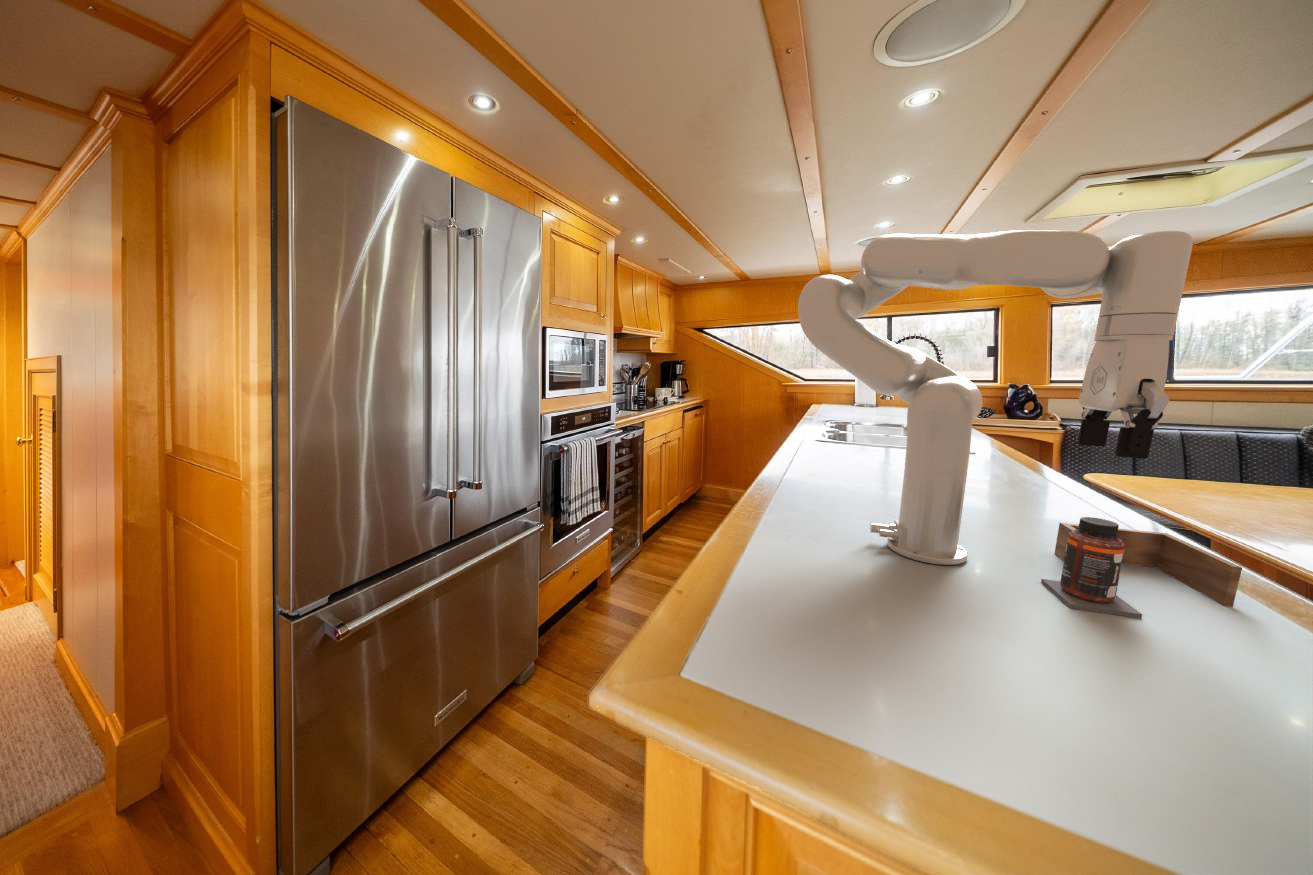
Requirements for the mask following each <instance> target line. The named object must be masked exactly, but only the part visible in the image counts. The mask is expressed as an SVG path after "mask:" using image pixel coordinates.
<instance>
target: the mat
mask: <svg viewBox="0 0 1313 875" xmlns="http://www.w3.org/2000/svg"><path fill="white" fill-rule="evenodd" d="M1040 582H1041V584H1042V585H1044V587H1045V588H1047V589H1048V590H1049V591H1050V592H1051V593H1052V594H1054V596H1056V597H1057V598H1058V599H1059V600H1060V601H1061V602H1062V603H1063V604H1064V605H1065V606H1067V607H1068V608H1069V609H1073V610H1074V609H1075V610H1083V611H1090V612H1095V613H1102V614H1103V613H1104V614H1107V615H1116V616H1124V617H1130V618H1137V619H1142V618H1143V614H1142V613H1141V611H1138V610H1137V609H1136V608H1135V607H1133V606H1131V605H1130V604H1129V603H1128V602H1126V601H1125V600H1123V599H1122V598H1121V597H1119V596H1118V595H1117V594H1116V596H1115V600H1114V601H1112V602H1109V603H1100V602H1093V601H1089V600H1084V599H1081V598H1078V597H1076V596H1073V595H1071V594H1069V593H1067V592H1066V591H1065V590H1063V589H1062V588H1061V585H1060V583H1061V580H1054V579H1045V578H1041V580H1040Z"/></svg>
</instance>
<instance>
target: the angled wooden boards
mask: <svg viewBox="0 0 1313 875" xmlns="http://www.w3.org/2000/svg"><path fill="white" fill-rule="evenodd" d="M1078 528H1079V524H1077V523H1067V522H1059V524H1058V531H1057V536H1056V542H1055V547H1054V555H1055V556H1056V557H1058V558H1059V559H1060V560H1062V561H1063V562H1064V557H1065V551H1066V545H1067V540H1068V535H1069V533H1070V532H1071V531H1073V530H1076V529H1078ZM1117 537H1118V538H1119V539H1121V540H1122V541H1123V542H1124V544H1125V549H1124V555H1123V561H1122V564H1124V565H1129V566H1130V565H1131V566H1139V567H1146V566H1147V567H1148V568H1156V569H1158V570H1160V571H1162V572H1164V573H1165V574H1167V575H1168V576H1170V577H1172V576H1173V577H1172V578H1173V579H1176V580H1178V581H1180V582H1181V583H1183V584H1185V585H1186V586H1188V587H1190V588H1192V589H1193V590H1195V591H1197V592H1199V593H1200V594H1202V595H1204V596H1206V597H1208V598H1210V599H1211V600H1213V601H1215V602H1216V603H1218V604H1220V605H1222V606H1224V607H1231V608H1233V607H1234V603H1235V599H1236V595H1237V591H1238V588H1239V587H1238V586H1239V584H1240V578H1241V575H1242V570H1243V567H1242V566H1239V565H1238V564H1235V563H1233V562H1231V561H1228V560H1226V559H1224V558H1223V557H1221V556H1218V555H1215V554H1213V553H1211V552H1209V551H1206V550H1205V549H1202V548H1200V547H1197V546H1196V545H1193V544H1192V543H1189V542H1186V541H1184V540H1182V539H1180V538H1178V537H1176V536H1173V535H1171V534H1170V533H1167V532H1156V531H1149V530H1148V531H1145V530H1138V529H1137V530H1136V529H1128V528H1127V529H1126V528H1120V527H1118V533H1117Z"/></svg>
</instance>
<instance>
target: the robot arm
mask: <svg viewBox="0 0 1313 875" xmlns="http://www.w3.org/2000/svg"><path fill="white" fill-rule="evenodd" d="M1193 244H1194V241H1193V237H1192V235H1191V234H1189V233H1188V232H1185V231H1181V230H1180V231H1179V230H1164V231H1155V232H1154V231H1153V232H1147V233H1140V234H1136V235H1135V234H1134V235H1131V236H1128V237H1126V238H1123V239H1121V240H1120V241H1118V242H1117V243H1115V244H1114V245H1108V244H1107V242H1105V240H1104V239H1102V238H1101V237H1100V236H1097V235H1096V234H1094V233H1093V234H1092V233H1088V232H1086V231H1085V232H1083V231H1072V230H1071V231H1070V230H1008V231H1006V230H1005V231H998V232H997V231H996V232H990V233H977V234H922V233H921V234H917V233H916V234H913V233H912V234H911V233H890V234H889V233H887V234H883V235H879V236H878V237H876V238H874V239H873V240H871V241H870V242H869V243H868V244H867V246H865V248H864V250H863V252H862V256H861V259H860V260H861V261H860V264H861V270H859V272H857V273H856V274H854V275H853V276H851V277H850V278H848V279H847V278H844V277H842V276H839V275H835V274H822V275H818V276H816V277H814V278H812V279H810V280H809V281H808V282H807V283H806V284H805V285H804V286H803V289H802V291H801V292H800V295H799V298H798V305H797V310H798V311H797V313H798V320H799V324H800V327H801V330H802V332H803V333H804V335H805V337H806V338H807V339H808V341H809V342H810V343H811V344H812V346H814V347H815V348H816V349H817V350H819V352H821V353H822V354H823V355H825V356H826V357H828V358H829V359H830V360H832V361H833V362H834V363H836V364H838V365H839V366H840V367H841V368H843V370H845V371H846V372H848V373H850V374H851V375H852V376H854V378H857V379H858V380H859V381H861V382H862V383H863V384H865V385H866V386H868V387H869V388H870V389H871V390H873V391H874V392H876V393H877V394H880V395H883V396H896V397H897V398H898V399H900V400H901V401H903V402H904V403H906V404H907V405H908V407H907V415H906V434H907V435H906V449H905V460H904V470H903V480H902V489H901V498H900V506H899V508H900V509H899V516H898V519H897V518H894V522H889V523H888V524H885V523H879V522H870V526H869V532H870V533H874V534H878V535H879V537H881V538H887V542H886V544H887V546H888V547H889V548H890V549H891V550H892V551H893V552H895V553H897V554H899V555H900V556H903V557H906V558H909V559H911V560H914V561H918V562H922V563H926V564H927V563H928V564H934V565H942V566H943V565H945V566H953V565H954V566H955V565H959V564H963V563H965V562H966V561H967V560H968V551H967V550H966V549H965V548H964V547H963V546H961V545H960V544H959V538H960V530H961V524H962V517H963V516H962V514H963V509H964V502H965V501H964V500H965V492H966V486H967V477H968V468H969V460H970V454H971V452H970V451H971V442H972V429H973V423H974V422H973V421H975V419H976V418H977V417H978V416H979V414H980V413H981V411H982V408H983V405H984V404H983V402H984V401H983V395H982V393H981V391H980V389H979V388H978V386H976V384H974V382H972V381H971V380H969V379H967V378H966V377H964V376H962V375H961V374H959V373H957V372H956V371H954V370H953V369H951V368H949V367H948V366H946V365H945V364H943V363H941V362H939V361H937V360H936V359H934V358H933V357H931V356H929V355H928V354H926V353H924V352H923V351H920V349H917V348H915V347H910V346H907V345H901V344H897V343H894V342H892V341H890V340H889V339H887V338H885V337H884V336H882V335H880V334H879V333H877V332H875V331H874V330H872V329H871V328H869V327H868V326H866V325H865V324H863V323H861V322H860V321H857V320H858V319H860V318H862V317H863V316H865V315H866V314H868V313H869V312H871V311H873V310H874V309H876V308H877V307H880V306H881V305H882V304H884V303H885V302H887V301H888V300H890V299H892V298H893V297H895V296H896V295H898V294H899V293H901V292H902V291H904V290H905V289H906V288H908V287H915V288H928V289H935V290H936V289H937V290H944V291H945V290H947V291H956V290H957V291H958V290H964V289H967V288H971V287H976V286H991V285H992V286H994V285H995V286H996V285H997V286H998V285H999V286H1014V287H1023V288H1024V287H1025V288H1040V289H1041V290H1042V291H1043V292H1044V293H1045V294H1046V295H1048V296H1050V297H1051V298H1055V299H1074V298H1081V297H1087V296H1092V295H1098V294H1102V298H1101V302H1100V308H1099V314H1098V319H1097V324H1096V329H1095V330H1096V331H1095V336H1094V340H1093V341H1094V342H1095V343H1094V345H1093V348H1092V350H1091V353H1090V356H1089V358H1088V361H1087V365H1086V370H1085V372H1084V376H1083V380H1082V384H1081V388H1080V393H1079V397H1078V403H1079V405H1080V406H1081V407H1082V410H1083V411H1082V412H1081V415H1080V417H1081V421H1080V428H1079V433H1078V437H1077V438H1078V440H1077V444H1078V445H1080V446H1086V447H1087V446H1089V447H1090V446H1091V447H1105V446H1106V445H1107V440H1108V435H1109V429H1110V428H1109V427H1110V425H1111V420H1107V419H1108V418H1109V417H1110V415H1112V412H1117V411H1118V410H1119V411H1120V413H1121V417H1122V421H1123V425H1124V426H1120V428H1119V430H1118V437H1117V442H1116V446H1115V451H1114V455H1115V457H1119V458H1128V459H1129V458H1130V459H1141V460H1142V459H1144V460H1146V459H1147V458H1148V457H1149V455H1150V451H1151V445H1152V440H1153V435H1154V431H1155V430H1156V429H1157V428H1158V426H1159V423H1158V422H1159V421H1160V420H1161V419H1162V418H1163V416H1164V411H1165V409H1166V407H1167V406H1168V404H1169V403H1170V400H1171V399H1170V397H1169V395H1168V394H1167V393H1166V392H1165V386H1166V381H1167V380H1166V379H1167V373H1168V368H1169V367H1168V366H1169V356H1170V355H1169V354H1170V341H1173V339H1174V335H1175V330H1176V324H1177V321H1178V315H1179V311H1180V306H1181V301H1182V299H1183V298H1182V297H1183V293H1184V292H1183V291H1184V288H1185V284H1186V279H1187V274H1188V269H1189V265H1190V261H1191V254H1192V250H1193Z"/></svg>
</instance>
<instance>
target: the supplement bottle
mask: <svg viewBox="0 0 1313 875" xmlns="http://www.w3.org/2000/svg"><path fill="white" fill-rule="evenodd" d="M1118 528H1120V527H1119V524H1118V523H1117V522H1114V521H1112V520H1108V519H1105V518H1098V517H1092V516H1091V517H1090V516H1084V517H1083V516H1081V517H1080V519H1079V528H1078V529H1076V530H1073V531H1071V532H1070V533H1069V535H1068V540H1067V545H1066V551H1065V557H1064V561H1063V565H1062V571H1061V577H1060V581H1061V583H1060V585H1061V588H1062V589H1063V590H1065V591H1066V592H1067V593H1069V594H1071V595H1073V596H1076V597H1078V598H1081V599H1084V600H1089V601H1093V602H1100V603H1109V602H1112V601H1114V600H1115V596H1116V595H1117V593H1118V586H1119V580H1120V575H1121V570H1122V561H1123V555H1124V549H1125V544H1124V542H1123V541H1122V540H1121V539H1119V538H1118V537H1117V533H1118Z"/></svg>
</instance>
